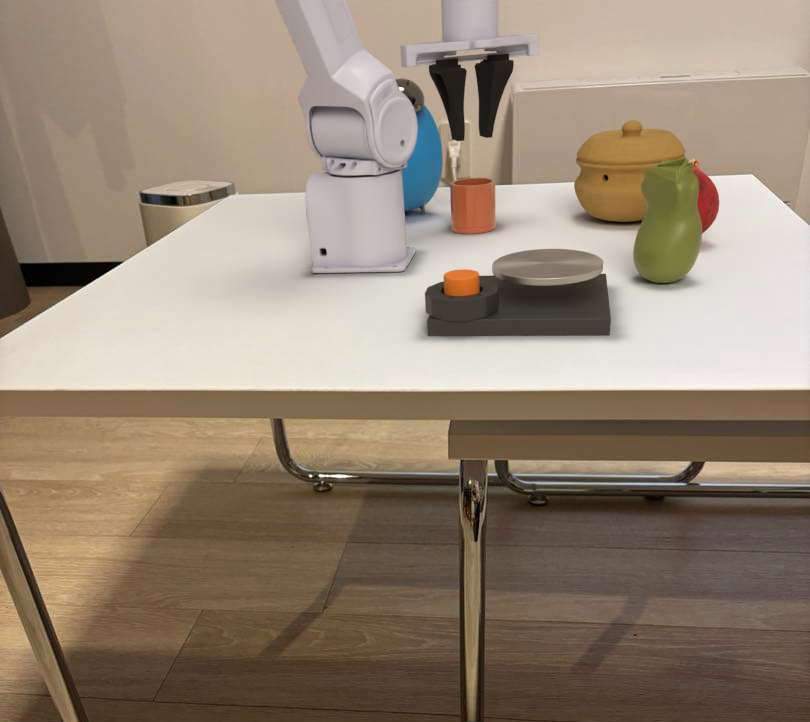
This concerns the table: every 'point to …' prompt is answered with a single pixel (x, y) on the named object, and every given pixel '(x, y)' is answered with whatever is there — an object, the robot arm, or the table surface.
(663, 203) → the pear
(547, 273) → the scale pan
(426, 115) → the alarm clock
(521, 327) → the scale
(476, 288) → the tare button
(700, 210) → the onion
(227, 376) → the table surface
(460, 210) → the orange plastic cup
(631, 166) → the pot
